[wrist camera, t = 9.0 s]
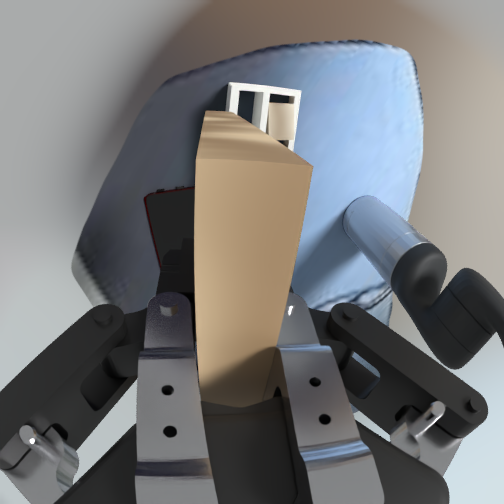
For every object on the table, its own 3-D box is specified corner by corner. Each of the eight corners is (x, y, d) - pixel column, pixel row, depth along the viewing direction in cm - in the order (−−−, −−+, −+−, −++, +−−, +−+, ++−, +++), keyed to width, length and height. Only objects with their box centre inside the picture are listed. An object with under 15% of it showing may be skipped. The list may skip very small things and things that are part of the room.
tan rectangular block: (232, 111, 18) (313, 166, 4) (221, 250, 23) (248, 446, 10) (205, 110, 18) (195, 158, 4) (199, 250, 23) (205, 449, 10)
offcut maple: (288, 103, 36) (294, 104, 33) (287, 136, 39) (293, 140, 36) (264, 103, 36) (268, 103, 33) (264, 137, 38) (268, 140, 36)
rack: (295, 90, 38) (310, 91, 32) (282, 181, 45) (294, 197, 39) (228, 83, 36) (232, 81, 30) (220, 178, 43) (222, 193, 38)
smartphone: (218, 182, 43) (233, 305, 56) (218, 179, 44) (232, 300, 57) (141, 193, 42) (172, 312, 55) (143, 190, 43) (173, 307, 56)
